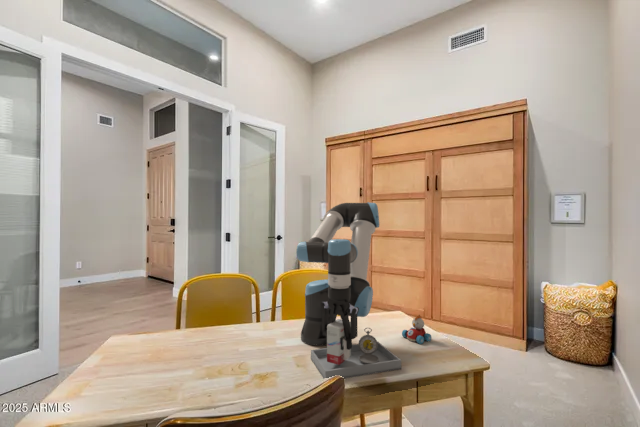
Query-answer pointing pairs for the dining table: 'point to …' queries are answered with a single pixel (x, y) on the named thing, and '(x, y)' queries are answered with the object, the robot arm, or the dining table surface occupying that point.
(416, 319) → the toy car
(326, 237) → the robot arm
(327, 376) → the tray
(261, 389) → the dining table surface
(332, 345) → the ink box
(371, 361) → the pocket watch
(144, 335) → the dining table surface
